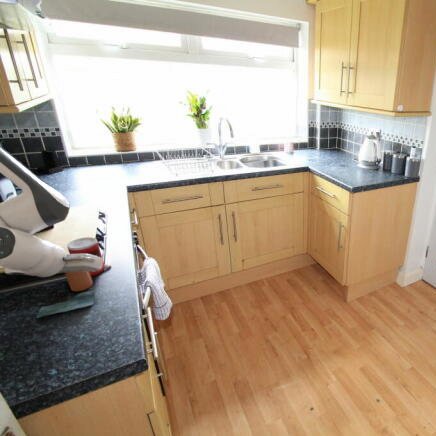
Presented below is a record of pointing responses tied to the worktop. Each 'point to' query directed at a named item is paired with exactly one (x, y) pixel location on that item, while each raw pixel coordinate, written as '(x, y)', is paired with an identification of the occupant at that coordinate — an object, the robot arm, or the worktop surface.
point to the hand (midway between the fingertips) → (75, 270)
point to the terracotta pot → (79, 280)
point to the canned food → (86, 249)
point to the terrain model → (69, 304)
